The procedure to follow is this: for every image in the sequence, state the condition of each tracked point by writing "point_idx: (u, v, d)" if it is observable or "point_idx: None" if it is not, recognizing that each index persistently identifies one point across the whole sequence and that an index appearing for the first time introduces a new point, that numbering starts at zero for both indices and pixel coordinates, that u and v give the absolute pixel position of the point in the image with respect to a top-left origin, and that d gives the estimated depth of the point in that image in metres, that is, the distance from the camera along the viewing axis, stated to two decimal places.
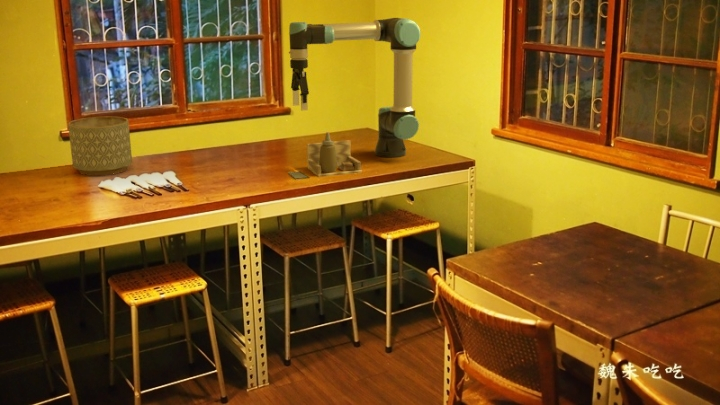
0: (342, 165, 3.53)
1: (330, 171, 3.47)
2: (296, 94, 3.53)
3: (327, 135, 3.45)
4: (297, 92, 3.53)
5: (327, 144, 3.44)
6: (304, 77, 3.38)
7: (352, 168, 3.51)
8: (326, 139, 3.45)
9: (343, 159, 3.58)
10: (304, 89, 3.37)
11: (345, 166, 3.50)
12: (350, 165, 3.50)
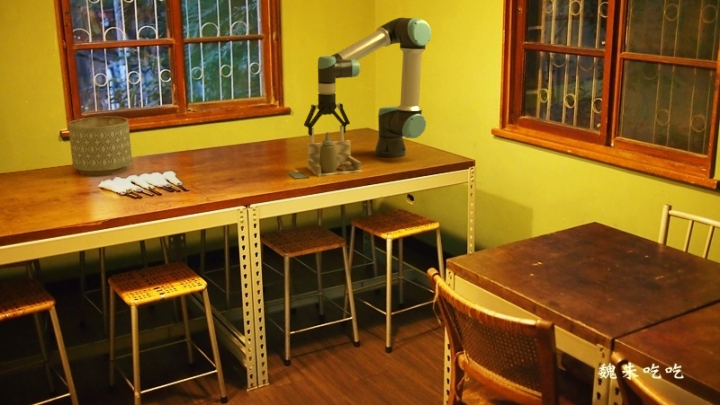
0: (341, 165, 3.53)
1: (330, 171, 3.47)
2: (341, 129, 3.47)
3: (327, 135, 3.45)
4: (341, 127, 3.46)
5: (327, 144, 3.44)
6: (311, 110, 3.40)
7: (352, 168, 3.51)
8: (326, 139, 3.45)
9: (343, 159, 3.58)
10: (305, 121, 3.41)
11: (343, 166, 3.50)
12: (349, 165, 3.50)
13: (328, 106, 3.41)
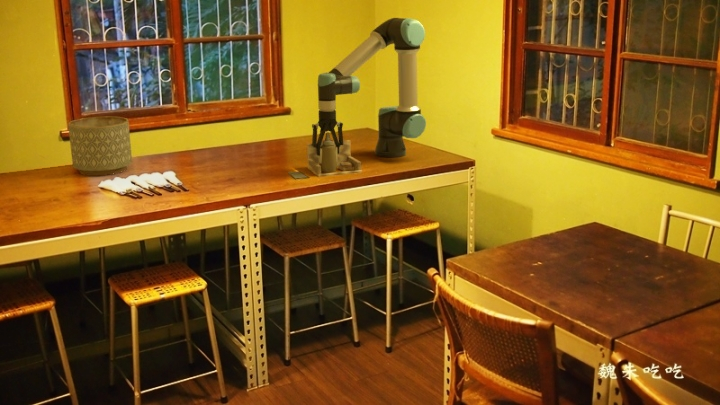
0: (340, 165, 3.53)
1: (330, 171, 3.47)
2: None
3: (327, 135, 3.45)
4: (335, 148, 3.48)
5: (327, 144, 3.44)
6: (314, 130, 3.42)
7: (352, 168, 3.51)
8: (326, 139, 3.45)
9: (343, 159, 3.58)
10: (312, 142, 3.44)
11: (344, 166, 3.50)
12: (349, 165, 3.51)
13: (329, 120, 3.43)
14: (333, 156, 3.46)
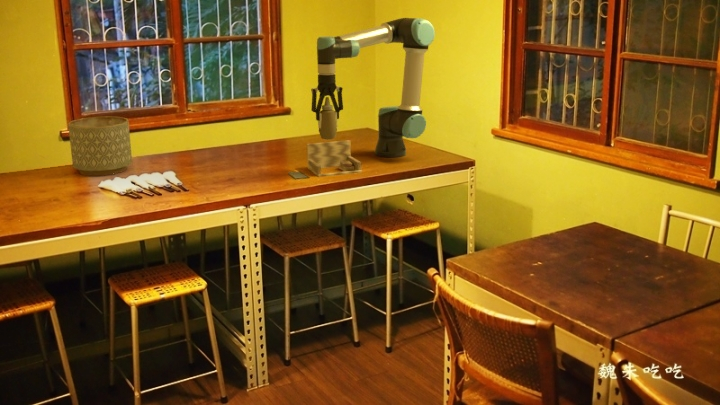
0: (341, 164, 3.53)
1: (330, 136, 3.43)
2: None
3: (326, 100, 3.41)
4: None
5: (327, 109, 3.40)
6: (313, 94, 3.38)
7: (352, 168, 3.51)
8: (326, 104, 3.41)
9: (343, 159, 3.58)
10: (312, 107, 3.40)
11: (344, 166, 3.50)
12: (349, 164, 3.50)
13: (328, 85, 3.39)
14: (333, 121, 3.41)
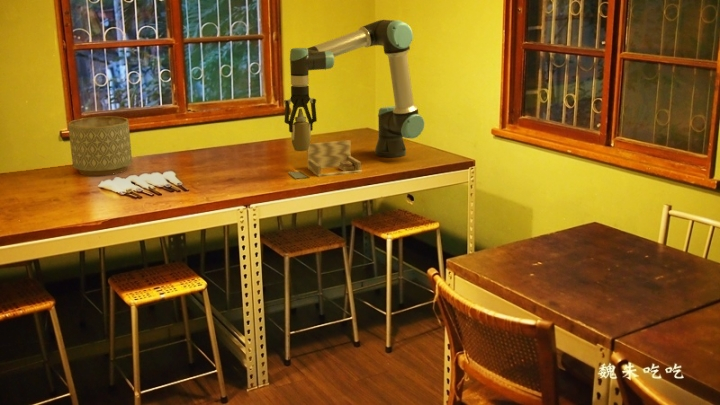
0: (341, 165, 3.53)
1: (303, 148, 3.40)
2: None
3: (300, 111, 3.38)
4: (308, 125, 3.40)
5: (300, 120, 3.37)
6: (286, 106, 3.35)
7: (352, 168, 3.51)
8: (299, 115, 3.38)
9: (343, 159, 3.58)
10: (285, 118, 3.37)
11: (345, 166, 3.50)
12: (350, 164, 3.51)
13: (302, 96, 3.36)
14: (306, 133, 3.38)
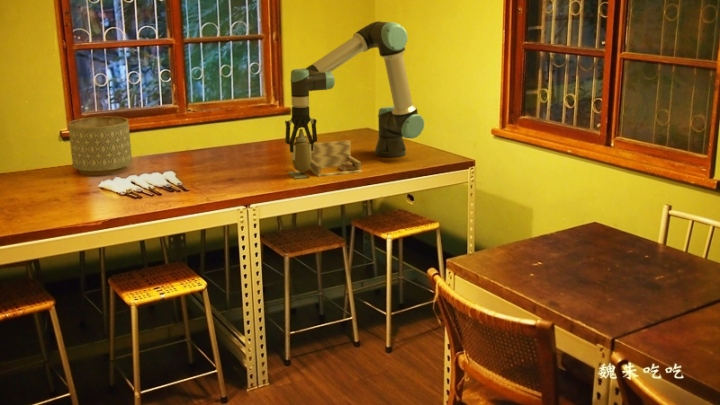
0: (342, 165, 3.53)
1: (304, 168, 3.42)
2: None
3: (300, 132, 3.40)
4: None
5: (300, 141, 3.40)
6: (287, 127, 3.38)
7: (353, 168, 3.51)
8: (299, 136, 3.40)
9: (343, 159, 3.58)
10: (285, 138, 3.40)
11: (345, 166, 3.50)
12: (350, 165, 3.50)
13: (302, 117, 3.38)
14: (306, 153, 3.41)
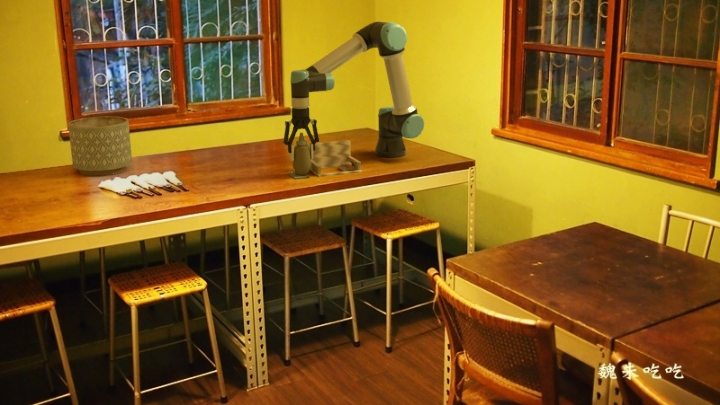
0: (342, 165, 3.53)
1: (304, 172, 3.43)
2: (310, 147, 3.44)
3: (301, 135, 3.42)
4: (310, 145, 3.43)
5: (301, 144, 3.41)
6: (286, 127, 3.38)
7: (352, 168, 3.51)
8: (300, 139, 3.42)
9: (343, 159, 3.58)
10: (284, 139, 3.39)
11: (344, 166, 3.50)
12: (349, 165, 3.50)
13: (302, 118, 3.38)
14: (307, 156, 3.42)
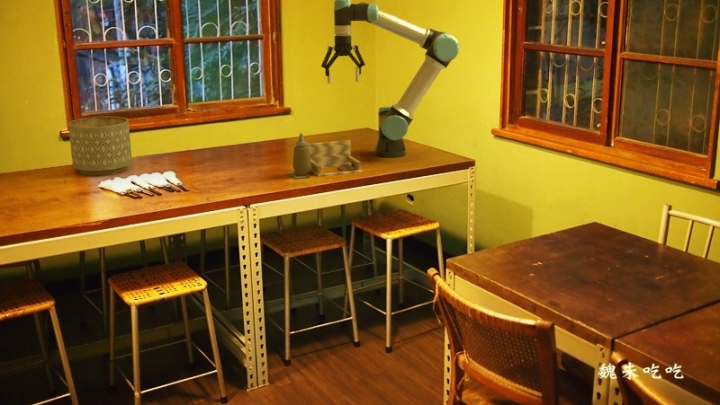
0: None
1: (304, 172, 3.43)
2: (356, 71, 3.61)
3: (301, 136, 3.41)
4: (357, 69, 3.61)
5: (300, 145, 3.40)
6: (328, 51, 3.54)
7: (352, 168, 3.51)
8: (300, 140, 3.41)
9: (343, 159, 3.58)
10: (323, 62, 3.55)
11: (344, 166, 3.50)
12: (349, 165, 3.50)
13: (344, 48, 3.55)
14: (307, 157, 3.41)
